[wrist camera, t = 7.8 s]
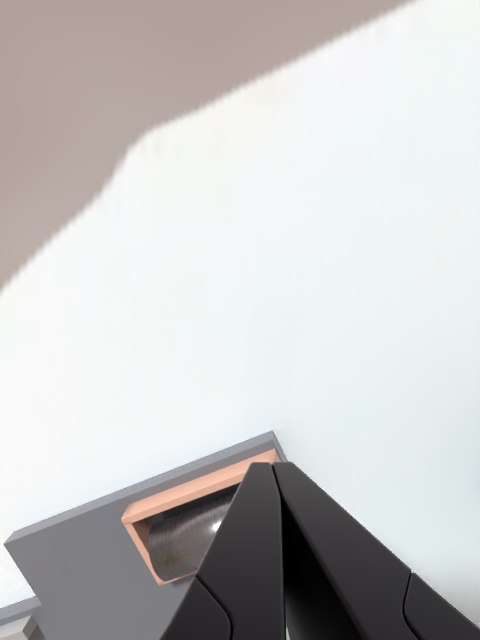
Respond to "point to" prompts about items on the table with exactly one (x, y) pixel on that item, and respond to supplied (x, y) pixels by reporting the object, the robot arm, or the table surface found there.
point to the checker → (117, 554)
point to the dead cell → (184, 539)
